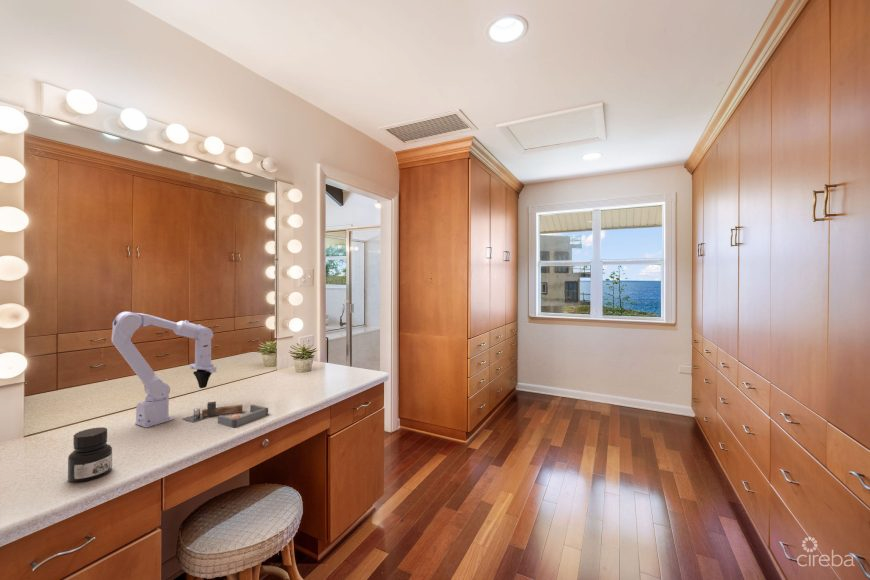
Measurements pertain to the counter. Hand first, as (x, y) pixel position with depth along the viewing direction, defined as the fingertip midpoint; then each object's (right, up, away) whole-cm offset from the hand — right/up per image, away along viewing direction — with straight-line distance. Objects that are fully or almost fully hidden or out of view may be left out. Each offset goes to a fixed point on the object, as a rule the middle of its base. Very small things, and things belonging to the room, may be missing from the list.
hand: (202, 387), depth 150 cm
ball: (+21, -9, -13) cm, 26 cm away
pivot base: (+3, -10, -8) cm, 13 cm away
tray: (+21, -10, -8) cm, 25 cm away
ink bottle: (+1, -11, -50) cm, 52 cm away
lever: (+11, -9, -4) cm, 15 cm away
